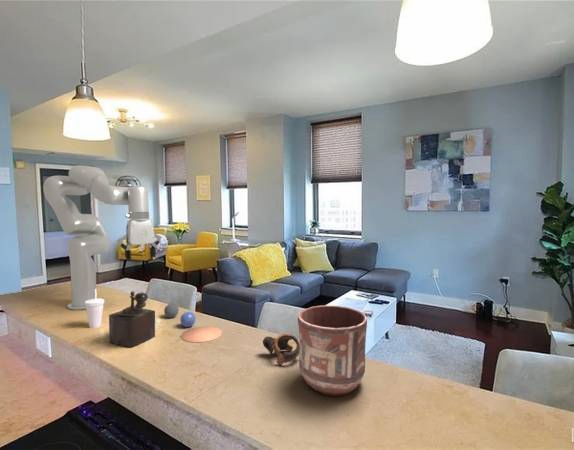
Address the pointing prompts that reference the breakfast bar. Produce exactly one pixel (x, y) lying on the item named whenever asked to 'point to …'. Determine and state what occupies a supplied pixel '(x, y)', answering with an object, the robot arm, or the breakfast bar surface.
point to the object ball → (188, 319)
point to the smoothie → (94, 311)
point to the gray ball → (171, 310)
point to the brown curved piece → (282, 347)
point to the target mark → (201, 334)
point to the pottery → (332, 348)
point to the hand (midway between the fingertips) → (141, 258)
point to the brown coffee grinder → (132, 323)
